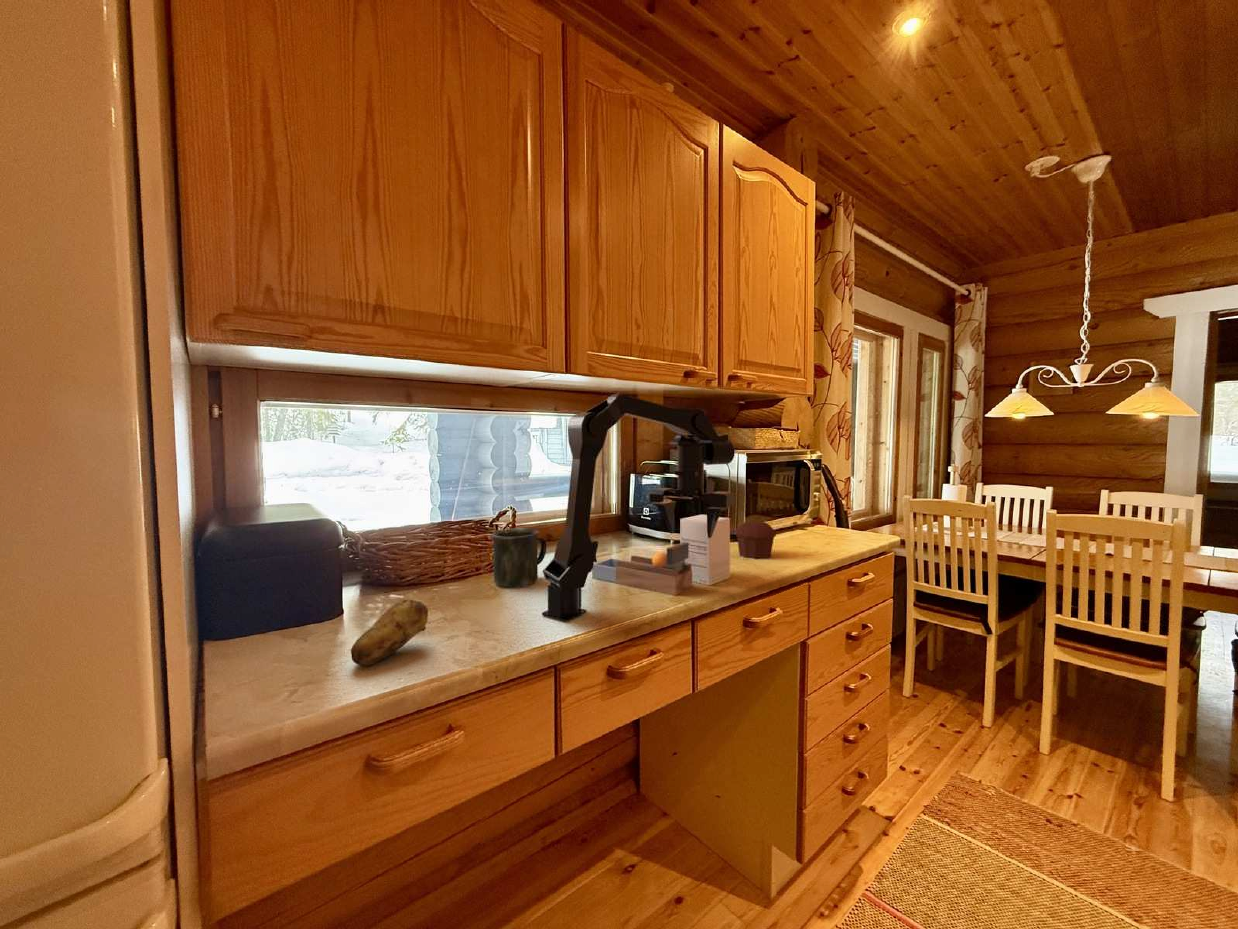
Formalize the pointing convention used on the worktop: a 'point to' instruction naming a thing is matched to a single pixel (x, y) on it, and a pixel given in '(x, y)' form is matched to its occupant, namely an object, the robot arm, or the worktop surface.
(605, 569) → the flat blue-grey box
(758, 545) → the muffin
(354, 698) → the worktop surface
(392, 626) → the potato
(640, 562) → the launcher track
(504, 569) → the mug
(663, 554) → the ball
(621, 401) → the robot arm
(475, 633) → the worktop surface
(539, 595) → the worktop surface
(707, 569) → the supplement box
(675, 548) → the dark grey upright block
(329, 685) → the worktop surface
